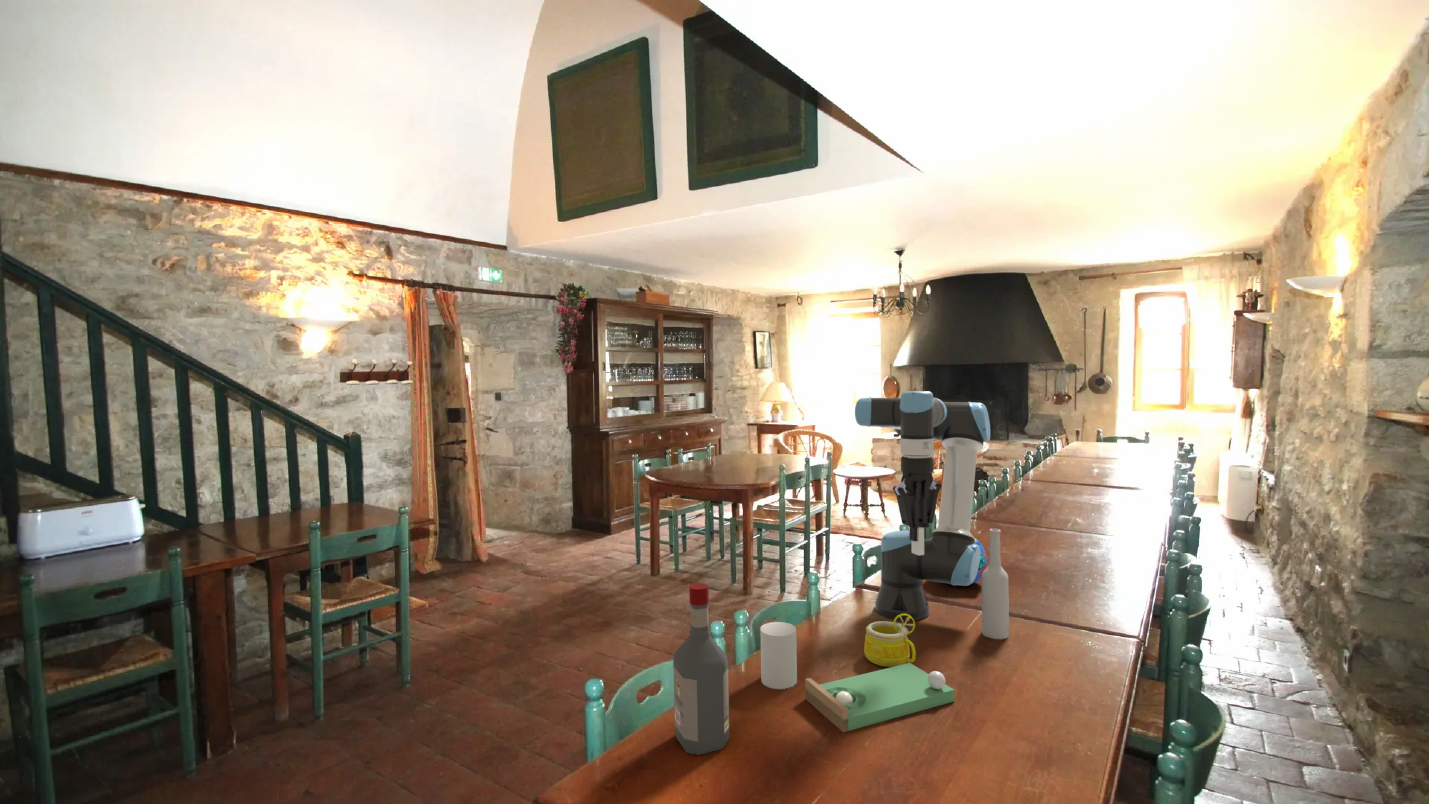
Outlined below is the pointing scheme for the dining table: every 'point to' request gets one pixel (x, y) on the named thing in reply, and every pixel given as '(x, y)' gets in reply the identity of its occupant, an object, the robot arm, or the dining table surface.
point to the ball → (844, 697)
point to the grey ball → (936, 680)
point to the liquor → (701, 683)
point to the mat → (876, 696)
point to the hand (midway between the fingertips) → (917, 553)
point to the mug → (889, 643)
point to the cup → (778, 655)
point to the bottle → (995, 593)
